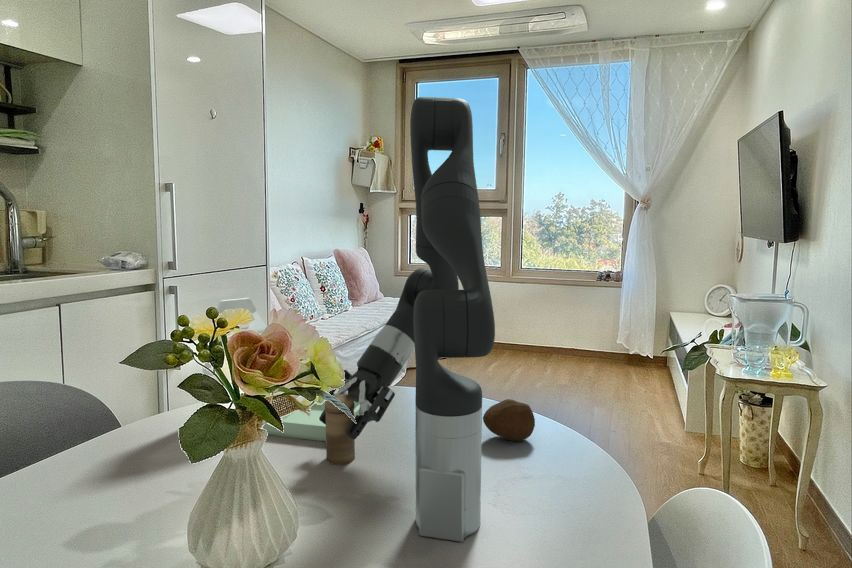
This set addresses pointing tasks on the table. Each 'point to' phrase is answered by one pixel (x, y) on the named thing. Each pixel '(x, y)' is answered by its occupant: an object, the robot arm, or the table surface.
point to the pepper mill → (339, 432)
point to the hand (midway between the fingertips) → (335, 429)
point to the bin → (305, 424)
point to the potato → (510, 420)
